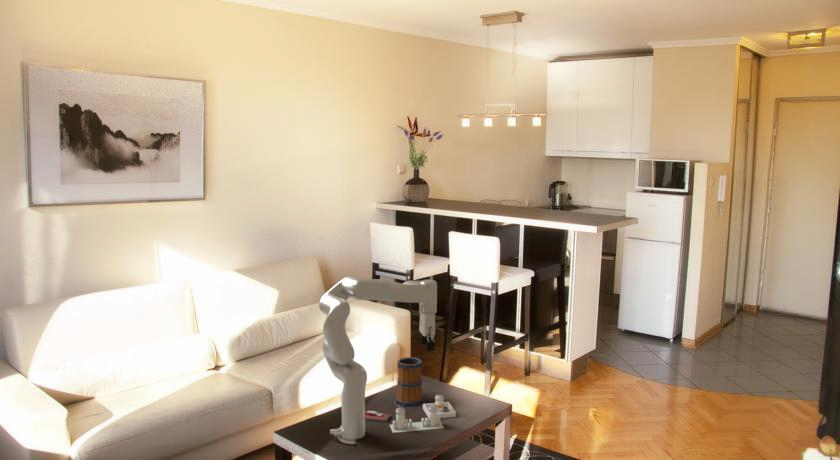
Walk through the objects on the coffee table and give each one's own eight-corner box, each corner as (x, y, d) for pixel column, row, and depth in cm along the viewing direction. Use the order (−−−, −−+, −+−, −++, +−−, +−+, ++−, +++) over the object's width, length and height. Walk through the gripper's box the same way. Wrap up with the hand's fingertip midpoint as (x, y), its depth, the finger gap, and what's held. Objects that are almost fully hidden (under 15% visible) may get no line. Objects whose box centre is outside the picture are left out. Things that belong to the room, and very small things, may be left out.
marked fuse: (436, 415, 293) (436, 398, 292) (434, 412, 296) (434, 394, 295) (444, 414, 293) (444, 397, 292) (442, 411, 297) (442, 394, 296)
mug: (385, 395, 318) (385, 355, 315) (413, 391, 324) (413, 351, 321) (401, 410, 300) (401, 367, 298) (430, 405, 306) (430, 363, 304)
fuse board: (392, 436, 274) (392, 425, 273) (389, 428, 282) (389, 417, 281) (444, 431, 279) (444, 421, 278) (439, 423, 287) (439, 413, 286)
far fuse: (429, 427, 280) (429, 408, 279) (427, 423, 283) (427, 405, 282) (438, 426, 280) (438, 408, 279) (435, 422, 284) (436, 404, 283)
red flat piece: (394, 419, 292) (352, 413, 297) (394, 409, 291) (352, 404, 297) (388, 427, 284) (344, 421, 289) (388, 417, 283) (344, 412, 288)
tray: (429, 422, 288) (429, 414, 287) (422, 411, 299) (422, 404, 299) (455, 419, 291) (456, 412, 290) (448, 409, 302) (448, 401, 302)
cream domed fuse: (396, 430, 276) (396, 411, 275) (395, 426, 280) (395, 408, 279) (405, 429, 277) (405, 410, 276) (403, 425, 281) (403, 407, 280)
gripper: (414, 304, 293) (414, 342, 295) (424, 314, 276) (423, 354, 278) (431, 303, 294) (431, 341, 297) (441, 313, 278) (441, 352, 280)
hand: (427, 347), depth 287 cm, fingers open, 9 cm apart
